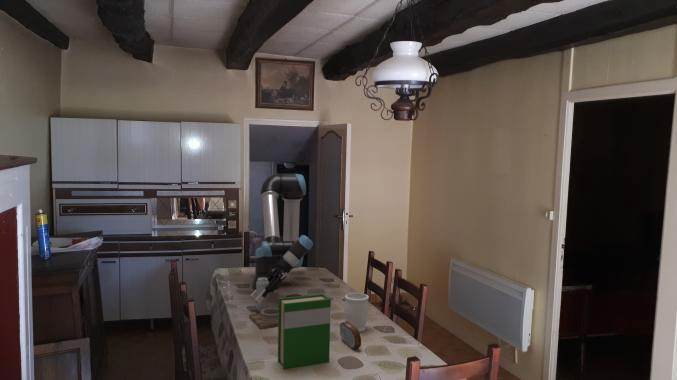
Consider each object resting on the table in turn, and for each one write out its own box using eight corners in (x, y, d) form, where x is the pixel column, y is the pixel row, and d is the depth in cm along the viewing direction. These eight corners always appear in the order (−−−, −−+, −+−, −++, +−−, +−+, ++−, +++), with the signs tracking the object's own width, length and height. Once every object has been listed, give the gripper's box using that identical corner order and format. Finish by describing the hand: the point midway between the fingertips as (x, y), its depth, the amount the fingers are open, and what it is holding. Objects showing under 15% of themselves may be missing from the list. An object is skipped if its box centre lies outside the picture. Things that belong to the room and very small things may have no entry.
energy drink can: (257, 307, 243) (257, 276, 242) (269, 307, 243) (270, 277, 242) (254, 311, 237) (255, 280, 236) (267, 311, 237) (267, 280, 236)
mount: (249, 317, 232) (249, 308, 232) (281, 313, 240) (281, 304, 239) (260, 329, 218) (260, 319, 218) (294, 324, 226) (294, 314, 225)
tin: (361, 351, 198) (362, 330, 197) (354, 352, 196) (355, 331, 196) (345, 337, 211) (345, 318, 210) (338, 338, 210) (338, 319, 209)
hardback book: (283, 369, 179) (284, 304, 177) (277, 361, 186) (278, 298, 184) (329, 362, 186) (330, 299, 184) (321, 354, 193) (323, 293, 191)
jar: (355, 323, 229) (356, 291, 227) (372, 329, 221) (373, 296, 220) (339, 329, 221) (339, 295, 220) (356, 335, 214) (357, 301, 212)
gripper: (300, 272, 237) (267, 310, 231) (285, 262, 254) (254, 298, 248) (290, 262, 234) (256, 300, 228) (275, 253, 251) (243, 289, 245)
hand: (255, 299), depth 238 cm, fingers closed on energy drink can, 6 cm apart
